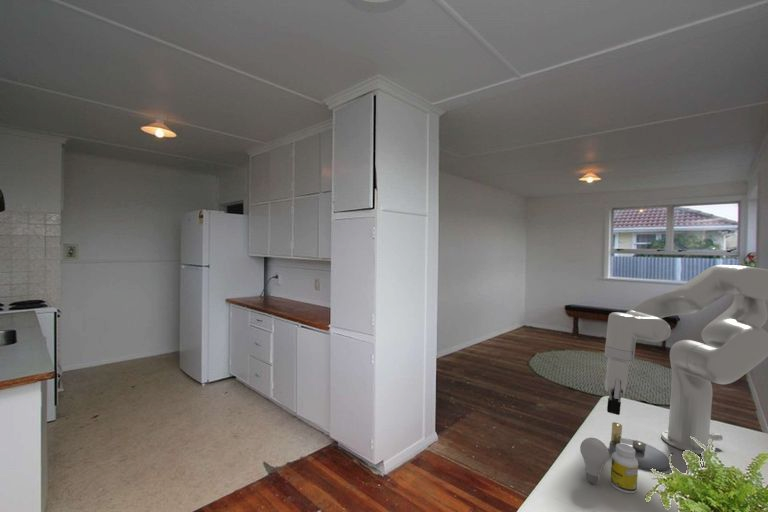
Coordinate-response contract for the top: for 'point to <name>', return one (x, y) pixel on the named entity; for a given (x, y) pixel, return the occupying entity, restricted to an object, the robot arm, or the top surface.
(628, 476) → the supplement bottle
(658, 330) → the robot arm
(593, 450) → the lightbulb
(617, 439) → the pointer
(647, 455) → the dial plate
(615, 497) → the top surface
